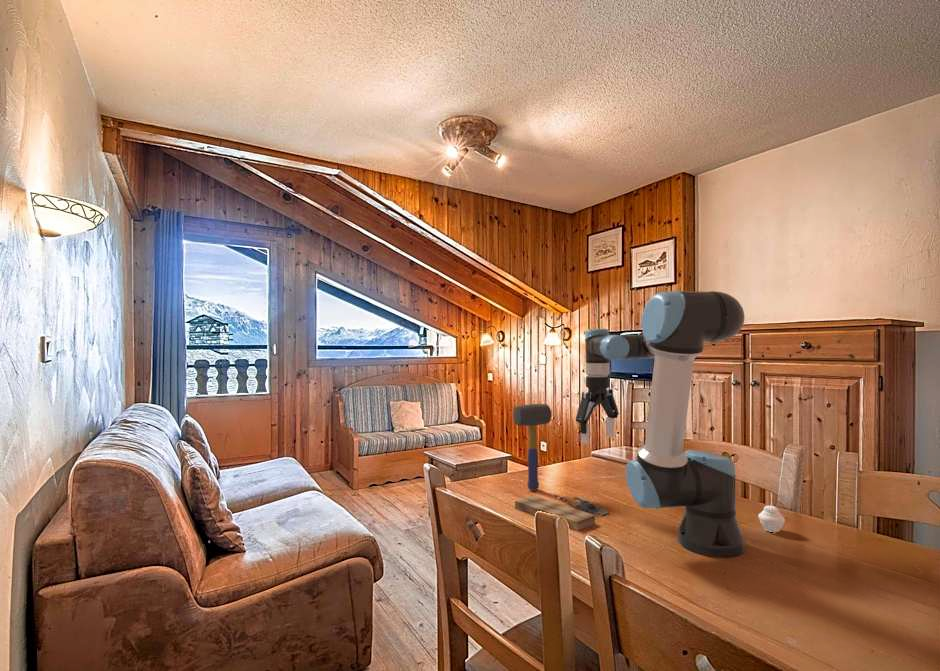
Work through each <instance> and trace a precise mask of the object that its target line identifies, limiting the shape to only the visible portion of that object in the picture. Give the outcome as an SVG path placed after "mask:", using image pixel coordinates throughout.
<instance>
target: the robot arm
mask: <svg viewBox="0 0 940 671" xmlns="http://www.w3.org/2000/svg"><path fill="white" fill-rule="evenodd" d="M744 323H745V312H744V309H743V306H742V305H741V304H740V301H738V299H737V298H736V297H734V296H732V295H730V294H729V293H727V292H722V291H714V290H713V291H711V290H710V291H696V290H695V291H690V290H683V291H682V290H672V291H671V290H670V291H661V292H659V293H658V292H657V293H655V294H654V295H653V296H651V297H650V299H649V300H648V301H647V302H646V304H645V306H644V309H643V312H642V316H641V321H640V324H641V328H642V331H641V332H642V334H610V331H609V329H607V328H589V329H586V331H585V339H584V342H585V343H584V344H585V374H586V375H587V376H585V387H586V388H587V389H588V391H581V399H580V403H579V406H578V409H577V414H576V417H575V422H577V423H579V425H580V427H579V428H580V430H579V432H580V443H581V444H586V445H590V423H588V422H589V420H590V418H591V416H592V413H593V411H594V409H595V408H596V407H597V406H598V405H601V407H602V409H603V410H604V412H605V414H606V416H607V417H605V437H606V438H611V439H613V438H614V439H615V419H618V416H619V415H620V414H619V413H620V412H619V409H618V407H617V403H616V400H615V397H614V390H613V388H610V377H609V375H610V373H611V372H610V361H620V360H636V359H640V360H641V359H647V360H648V359H651V360H652V359H653V360H654V362H653V371H652V381H651V389H650V396H649V406H648V416H647V424H646V431H645V432H646V433H645V443H644V445H642V446H640V447H639V448H637V454H636V459H632V460H629V461H628V462H627V463H626V467H625V478H626V483H627V486H628V490H629V493H630V494H631V496H632V498H633V500H634V501H635V502H636V504H637V505H638V506H640V507H641V508H643V509H644V508H645V509H657V510H659V509H664V508H676V507H684V512H683V513H684V514H683V516H682V519H681V522H680V525H679V528H678V531H677V532H678V533H677V539H678V540H677V541H678V542H679V544H680V545H681V546H683V547H684V548H685V549H687V550H689V551H691V552H694V553H697V554H699V555H700V554H701V555H705V556H710V557H718V558H731V557H737V556H740V555H742V554H743V553H745V539H744V536H743V534H742V532H741V529H740V526H739V523H738V520H737V517H736V516H737V515H736V511H737V509H736V508H737V507H736V506H737V504H736V502H737V501H736V478H737V474H736V469H735V468H736V466H735V462H734V460H733V459H731V458H730V457H728V456H725V455H722V454H719V453H715V452H709V451H706V450H705V451H704V450H698V449H697V450H696V449H688V450H685V451H684V452H683V447H684V441H685V440H684V439H685V434H686V433H685V432H686V425H687V424H686V423H687V417H688V409H689V403H690V394H691V387H692V380H693V379H692V378H693V371H694V365H695V364H694V363H695V358H697V357H698V356H700V355H702V354H703V352H704V351H703V350H704V344H705V343H706V342H707V343H719V342H722V341H725V340H729V339H731V338H733V337H735V336H736V335H738V333H739V332H740V331H741V329H742V328H743V327H744Z"/></svg>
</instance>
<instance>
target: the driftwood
mask: <svg viewBox="0 0 940 671" xmlns="http://www.w3.org/2000/svg"><path fill="white" fill-rule="evenodd" d="M553 497H555V498H556V497H560V496H559V495H557V494H554V495H553ZM574 498H575V499H576V500H578V501H580V503H579V502H578V503H579V504H578V503H577V504H578V505H577V504H574V503H573V502H572V501H571V502H570V501H568V500H567V499H564V500H565V501H566V500H567V501H568V502H567V501H566V502H567V503H566V504H569V505H570V506H571V507H573V508H575V509H577V510H580V511H583V512H586V513H589V514H592V515H595V516H599V517H602V516H603V515H605V514H610V513H611V512H610V511H609V510H607V509H605V508H603V507H601V506H599V505H597V504H594V503H592V502H590V501H589V500H584V499H582V498H580V497H578V496H577V497H574ZM575 499H574V500H575ZM562 500H563V499H561V500H560V501H562ZM576 500H575V501H576Z"/></svg>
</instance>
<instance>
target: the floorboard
mask: <svg viewBox="0 0 940 671" xmlns="http://www.w3.org/2000/svg"><path fill="white" fill-rule="evenodd" d="M514 509H515V510H519V511H521V512H523V513H526V514H530V515H532V516H534V517H536V516H535V513H536V512H537V511H542V512H546V513H550V514H555V515H558V516H561V517H563V518H565V519H566V520H567V522H568V524H569V528H568V529H570V528H571V530H573V529H574V531H577V532H578V531H580V530H583V529H585V528H588V527H590V526H592V525H595V524H596V520H595V518H596V517H595V516H596V515H595V514H592V513H586V512H583V511H582V510H580V509H577V508H575V507H572V506H571V507H569V506H567V505H563V504H561V503H557V502H556V501H555V502H554V501H551V500H549V499H546V498H542V497H539V496H535V495H530V496H526V497H522V498H518V499H516V500H514Z"/></svg>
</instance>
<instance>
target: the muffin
mask: <svg viewBox="0 0 940 671" xmlns="http://www.w3.org/2000/svg"><path fill="white" fill-rule="evenodd" d="M758 519H759V522H760V524H761V527H762V528H763V529H764V531H765V530H766V531H769V532H779V533H780V531H781V529H783V527H784V523H785V522H786V519H785V517H784V516H783V515H782V514H781V512H780V509H779V508H778V507H776V506H774V505H765V506H763V510H762V511H761V512H760V513H758ZM766 531H765V532H766ZM769 532H768V533H769Z"/></svg>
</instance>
